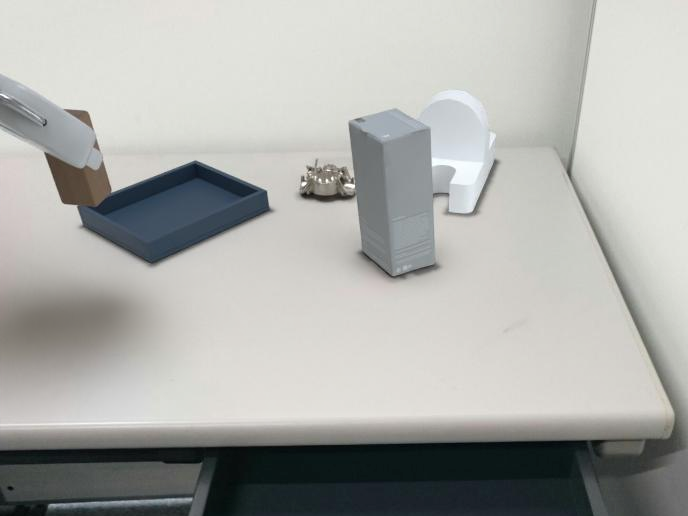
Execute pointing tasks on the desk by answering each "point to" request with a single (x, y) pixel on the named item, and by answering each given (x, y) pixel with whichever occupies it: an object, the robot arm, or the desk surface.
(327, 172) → the ornament
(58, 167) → the wooden block
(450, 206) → the bracket
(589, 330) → the desk surface
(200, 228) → the tray
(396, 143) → the cosmetic box
